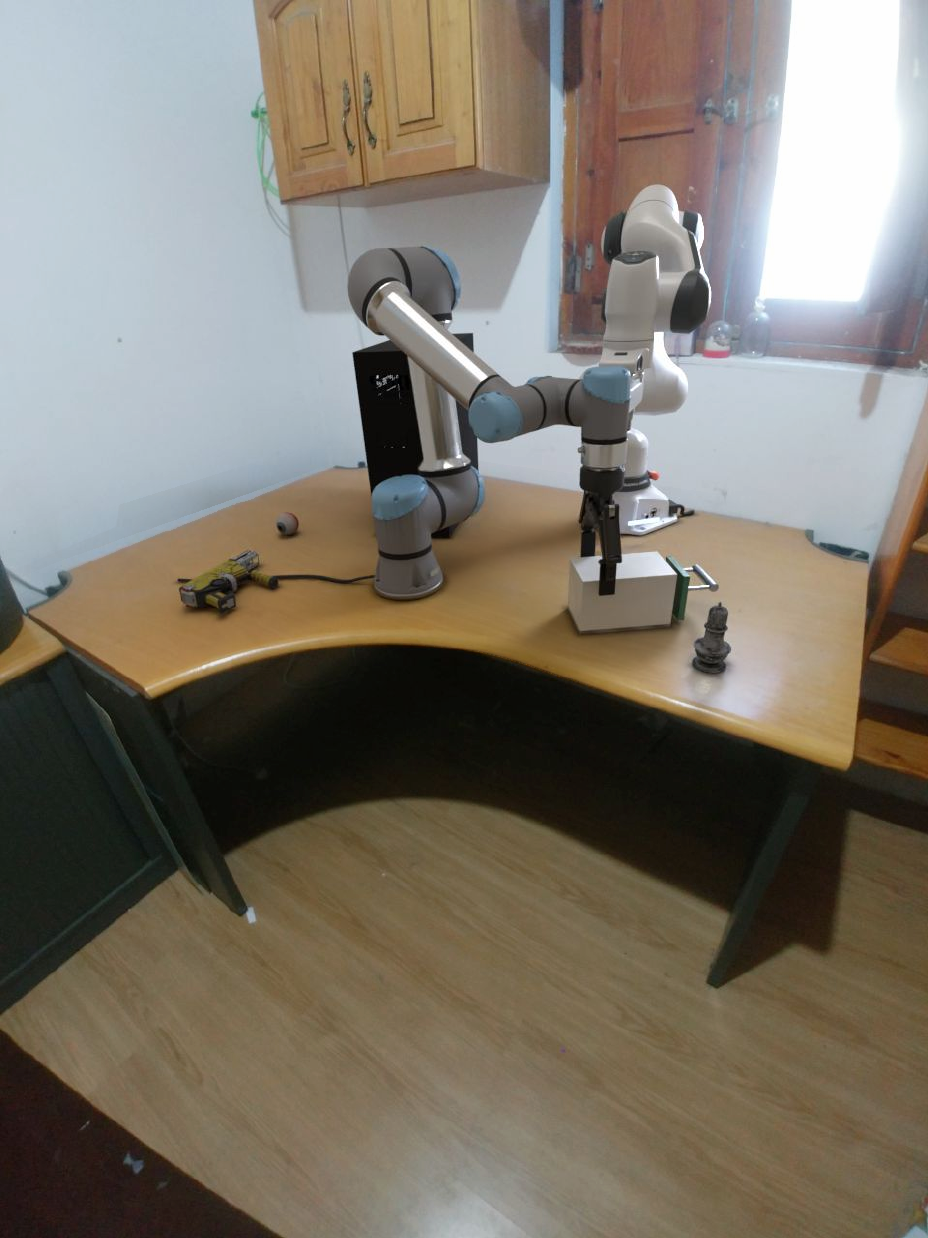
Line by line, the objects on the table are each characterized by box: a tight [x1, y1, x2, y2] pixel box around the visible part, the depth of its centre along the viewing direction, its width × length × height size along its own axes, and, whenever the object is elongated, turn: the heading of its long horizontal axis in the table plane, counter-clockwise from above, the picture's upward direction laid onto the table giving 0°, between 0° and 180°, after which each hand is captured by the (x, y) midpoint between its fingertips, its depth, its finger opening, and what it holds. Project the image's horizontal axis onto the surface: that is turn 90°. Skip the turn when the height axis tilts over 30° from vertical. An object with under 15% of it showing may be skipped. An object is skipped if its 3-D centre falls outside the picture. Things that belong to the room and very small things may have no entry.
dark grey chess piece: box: [692, 601, 732, 674], centre depth 99 cm, size 6×6×12 cm
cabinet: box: [567, 551, 677, 635], centre depth 115 cm, size 17×10×11 cm, turn 94°
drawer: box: [665, 555, 720, 622], centre depth 115 cm, size 22×9×9 cm, turn 94°
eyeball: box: [275, 511, 300, 536], centre depth 163 cm, size 6×6×6 cm
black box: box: [351, 332, 480, 539], centre depth 164 cm, size 38×20×45 cm, turn 167°
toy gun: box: [178, 549, 279, 615], centre depth 136 cm, size 5×24×15 cm
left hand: (596, 578), depth 113 cm, fingers open, 13 cm apart
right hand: (620, 436), depth 114 cm, fingers open, 8 cm apart
